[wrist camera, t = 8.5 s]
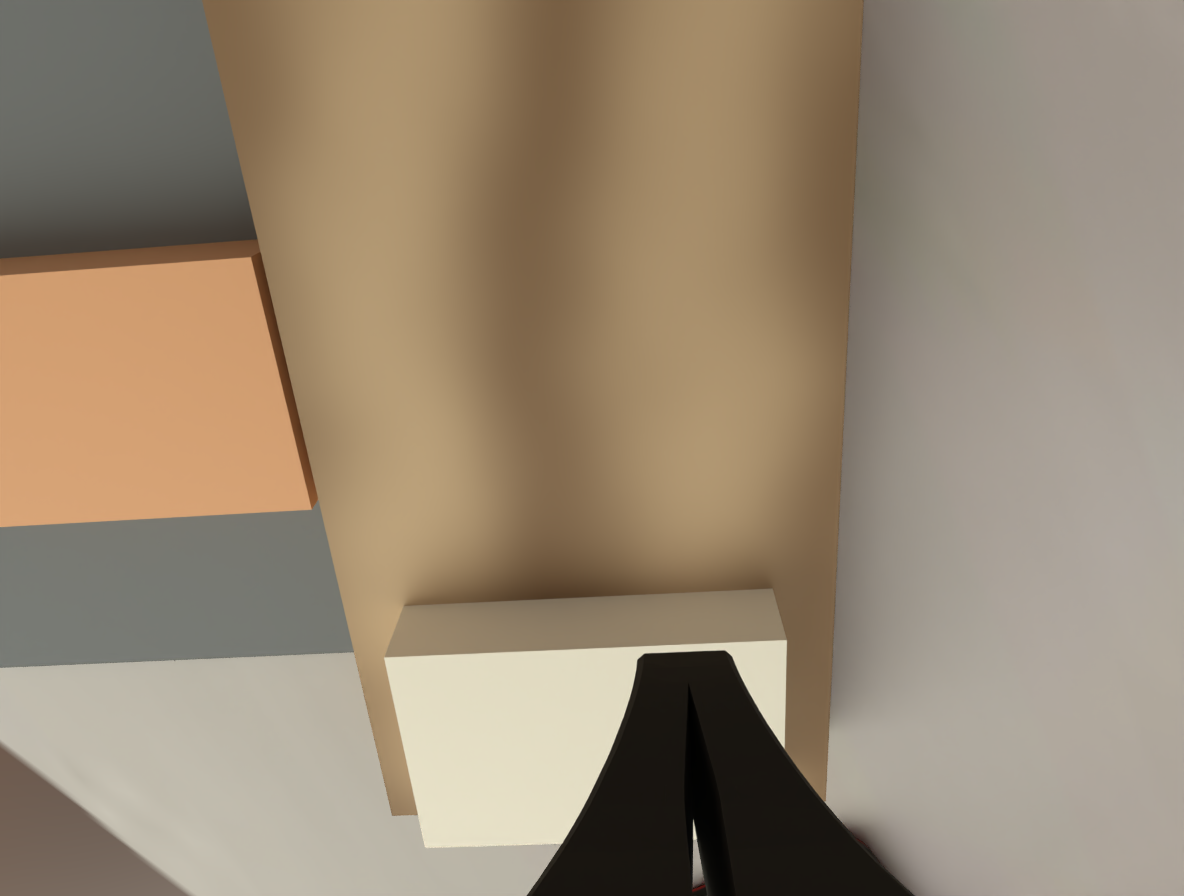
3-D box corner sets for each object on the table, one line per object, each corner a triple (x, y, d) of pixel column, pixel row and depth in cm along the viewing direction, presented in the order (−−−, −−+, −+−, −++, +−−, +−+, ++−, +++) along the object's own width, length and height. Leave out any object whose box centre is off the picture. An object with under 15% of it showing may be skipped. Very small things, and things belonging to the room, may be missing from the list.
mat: (246, -25, 18) (241, -27, 18) (388, 644, 25) (386, 650, 25) (-299, 24, 19) (-312, 24, 19) (-12, 662, 26) (-19, 668, 26)
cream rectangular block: (772, 588, 21) (786, 640, 19) (770, 775, 24) (782, 837, 22) (403, 605, 22) (383, 657, 20) (439, 787, 24) (425, 848, 22)
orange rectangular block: (284, 237, 20) (250, 257, 18) (336, 471, 23) (312, 509, 21) (-91, 265, 21) (-159, 287, 19) (1, 491, 23) (-52, 530, 21)
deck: (838, -138, 17) (871, -164, 15) (808, 735, 26) (825, 801, 24) (235, -81, 18) (179, -98, 16) (411, 750, 27) (392, 815, 25)
